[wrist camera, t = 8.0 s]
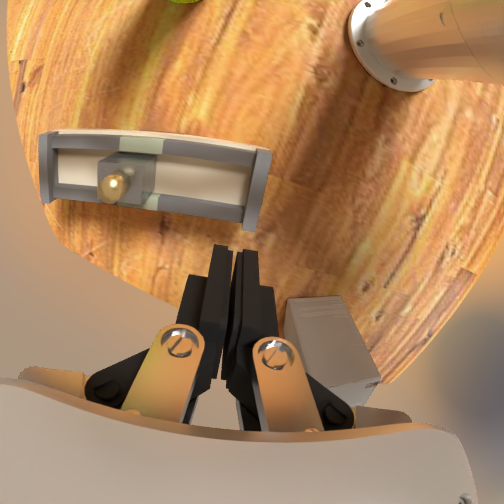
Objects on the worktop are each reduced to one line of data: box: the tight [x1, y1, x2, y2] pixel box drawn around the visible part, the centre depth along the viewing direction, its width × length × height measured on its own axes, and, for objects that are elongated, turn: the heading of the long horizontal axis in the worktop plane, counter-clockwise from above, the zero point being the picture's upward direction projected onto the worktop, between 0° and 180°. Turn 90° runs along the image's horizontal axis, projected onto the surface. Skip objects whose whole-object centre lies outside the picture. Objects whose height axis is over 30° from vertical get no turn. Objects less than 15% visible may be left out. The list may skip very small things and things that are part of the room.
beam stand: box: [39, 129, 273, 232], centre depth 25 cm, size 7×22×8 cm, turn 79°
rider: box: [97, 152, 157, 205], centre depth 21 cm, size 3×4×6 cm
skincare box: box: [283, 296, 381, 408], centre depth 33 cm, size 8×7×16 cm
